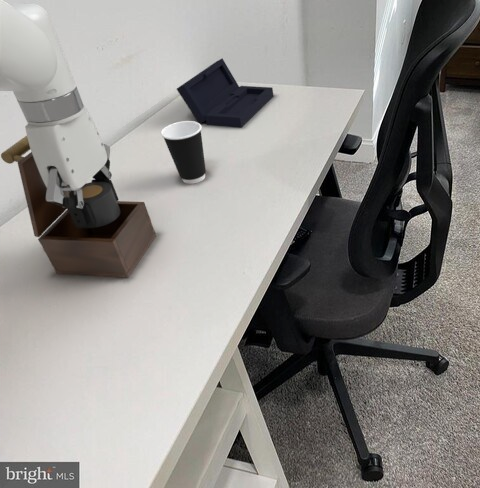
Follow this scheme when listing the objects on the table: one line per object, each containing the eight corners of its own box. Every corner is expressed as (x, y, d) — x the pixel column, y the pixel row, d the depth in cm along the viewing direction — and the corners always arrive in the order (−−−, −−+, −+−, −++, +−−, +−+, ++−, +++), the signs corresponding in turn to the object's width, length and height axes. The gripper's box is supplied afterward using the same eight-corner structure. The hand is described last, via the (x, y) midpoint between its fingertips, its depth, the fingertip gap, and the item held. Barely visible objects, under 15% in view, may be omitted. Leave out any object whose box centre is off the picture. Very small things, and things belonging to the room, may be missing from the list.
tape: (89, 233, 73) (78, 207, 71) (71, 218, 77) (60, 193, 74) (127, 214, 77) (118, 189, 74) (108, 201, 81) (99, 176, 78)
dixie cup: (167, 182, 101) (151, 133, 94) (193, 165, 106) (181, 118, 99) (194, 191, 97) (181, 141, 90) (220, 173, 102) (209, 124, 95)
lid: (67, 128, 74) (34, 120, 74) (22, 163, 66) (-15, 154, 66) (77, 198, 83) (48, 190, 83) (38, 237, 74) (6, 229, 74)
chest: (156, 236, 86) (144, 201, 81) (127, 277, 77) (112, 242, 73) (91, 233, 88) (76, 199, 83) (56, 274, 79) (37, 239, 75)
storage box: (241, 127, 120) (234, 88, 114) (185, 122, 124) (175, 84, 118) (273, 96, 135) (268, 59, 129) (222, 93, 140) (215, 57, 134)
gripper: (63, 83, 73) (103, 185, 84) (-16, 132, 60) (45, 246, 71) (108, 82, 72) (143, 186, 83) (39, 132, 58) (91, 248, 69)
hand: (98, 212), depth 77 cm, fingers closed on tape, 6 cm apart
